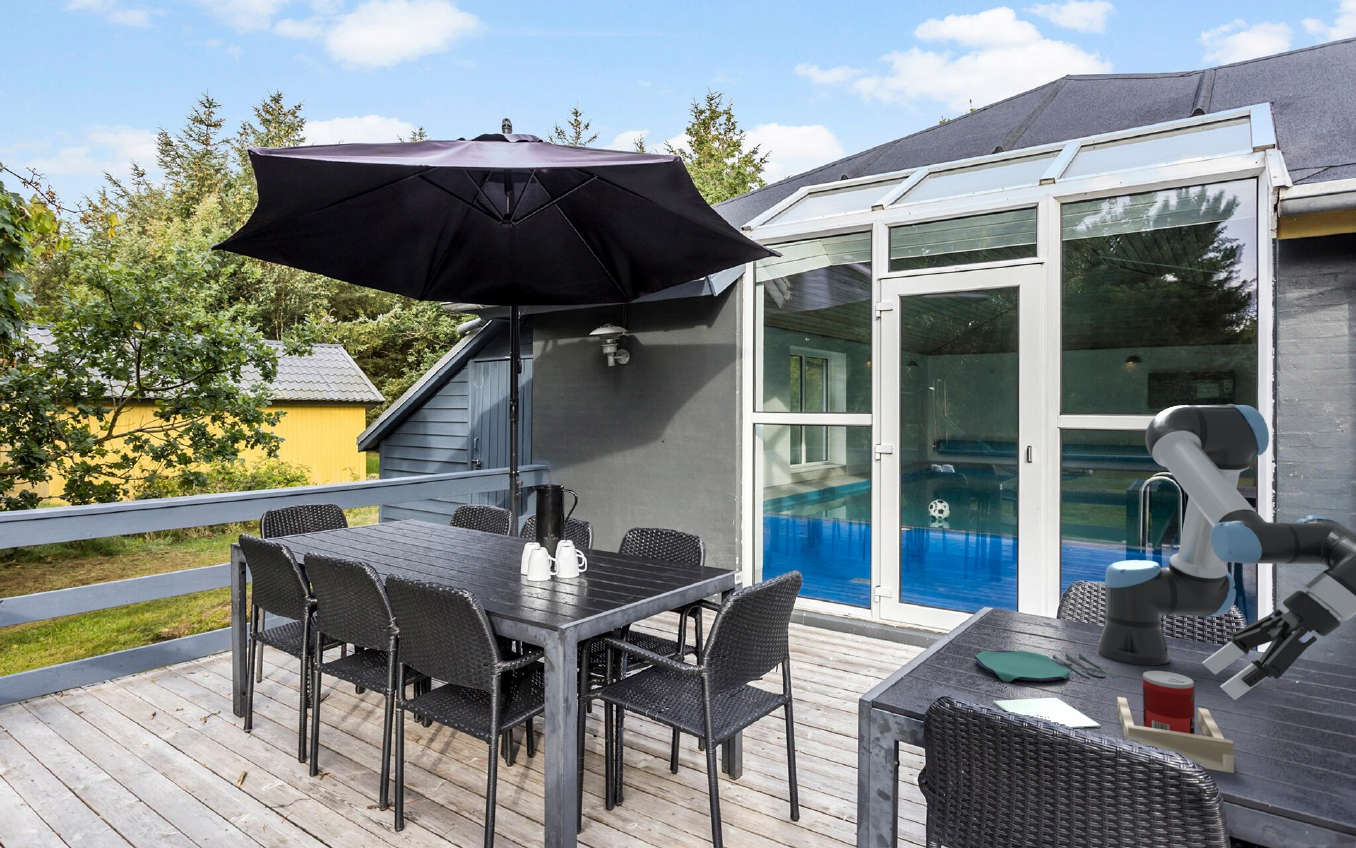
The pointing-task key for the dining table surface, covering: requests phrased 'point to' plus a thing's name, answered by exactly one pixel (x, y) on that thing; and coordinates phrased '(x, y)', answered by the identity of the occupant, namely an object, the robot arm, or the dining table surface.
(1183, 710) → the canned food
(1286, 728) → the dining table surface
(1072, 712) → the pad
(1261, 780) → the dining table surface
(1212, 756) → the shelf lane
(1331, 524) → the robot arm
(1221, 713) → the dining table surface
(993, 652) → the cutlery set
